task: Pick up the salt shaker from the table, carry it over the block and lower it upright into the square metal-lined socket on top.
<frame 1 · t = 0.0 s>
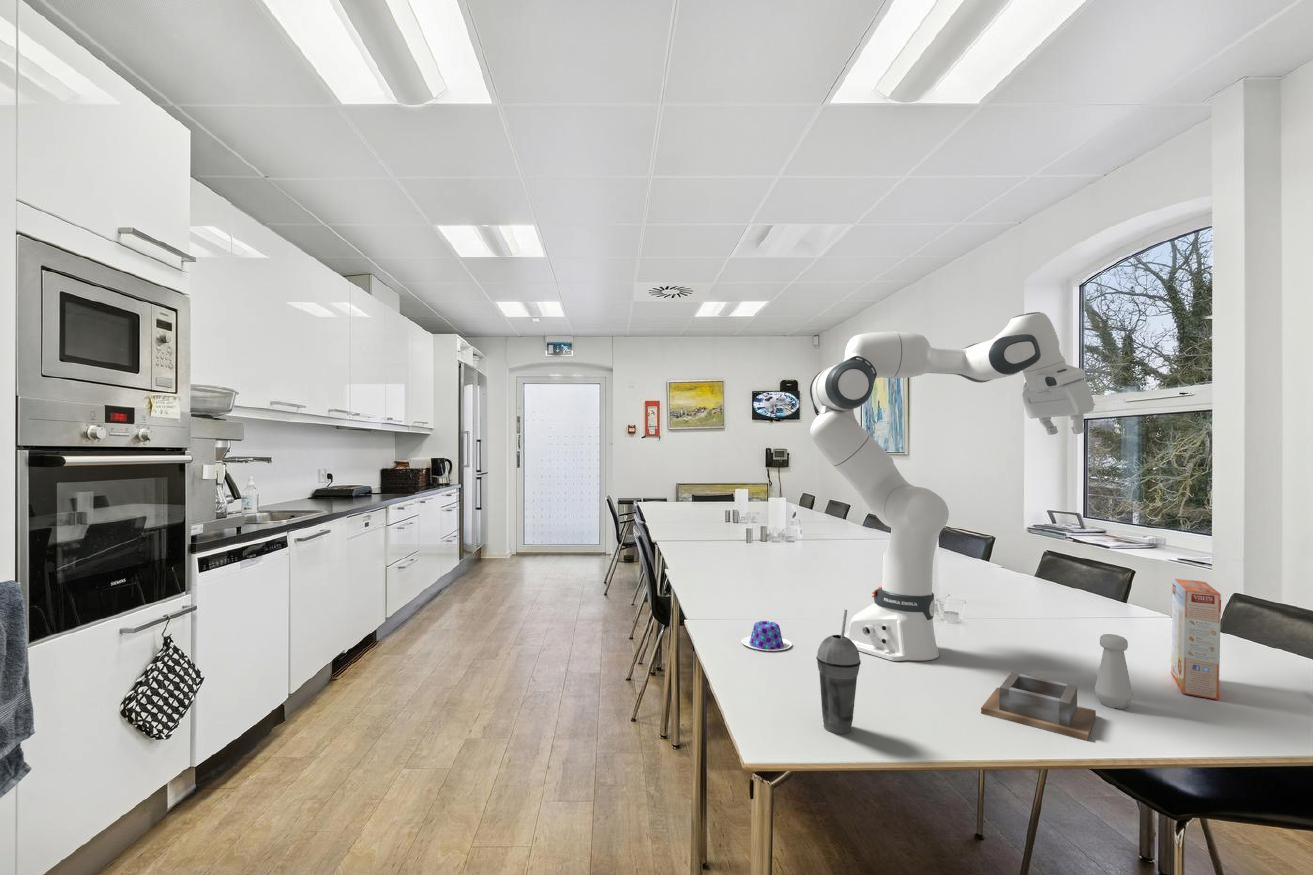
hand: (1065, 433, 150), 52 cm above the table, tool tilted 20°, fingers open, 8 cm apart
beverage cup: (837, 729, 107), on the table
cracker box: (1194, 688, 129), on the table
salt shaker: (1113, 705, 119), on the table
pudding: (766, 646, 152), on the table
socket block: (1038, 714, 114), on the table
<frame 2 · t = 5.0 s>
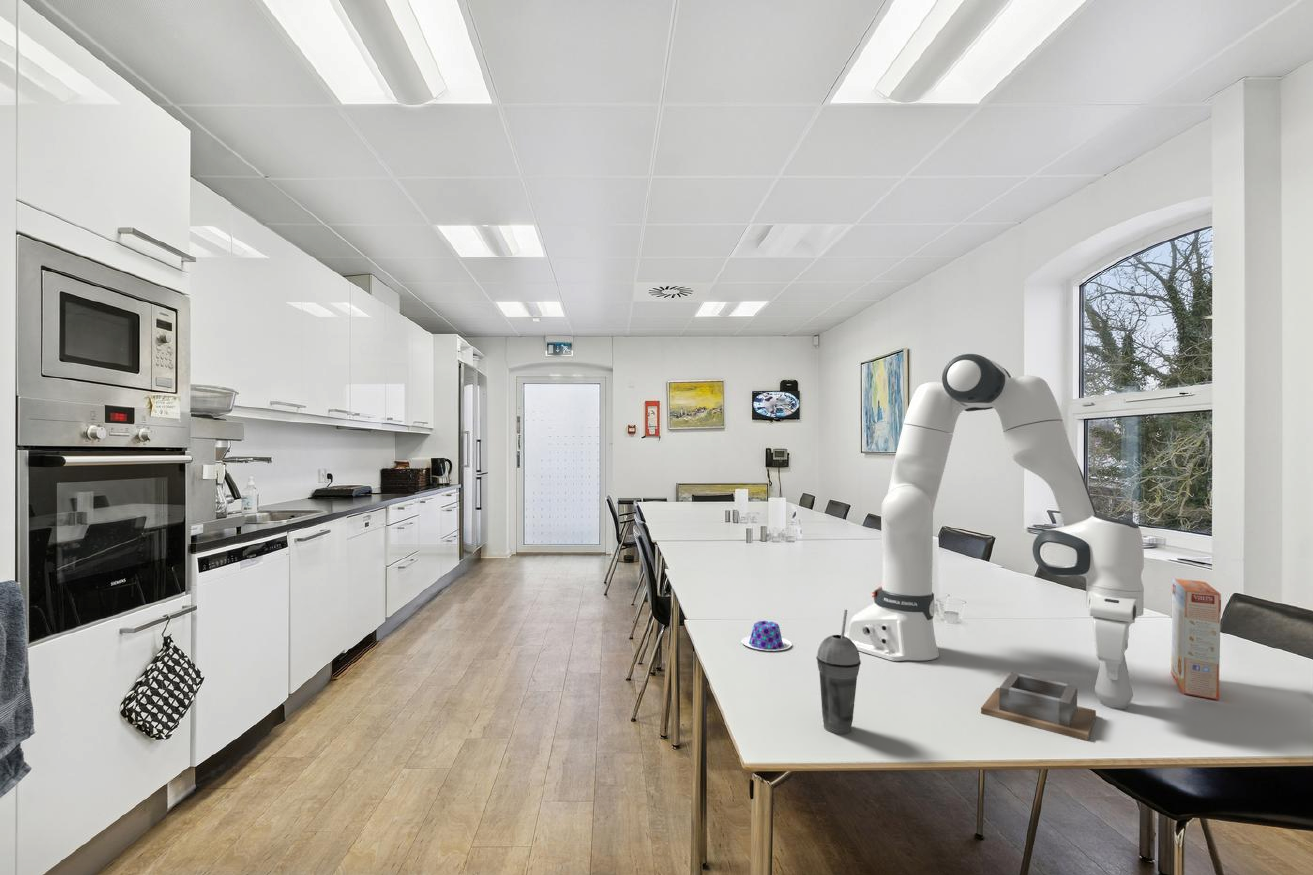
hand: (1113, 674, 119), 6 cm above the table, tool pointing down, fingers closed on salt shaker, 4 cm apart
salt shaker: (1113, 705, 119), on the table, touching gripper
everything else where it was.
when the fingers open (7 cm above the table, at t = 11.1 s): salt shaker stays where it is, resting on socket block.
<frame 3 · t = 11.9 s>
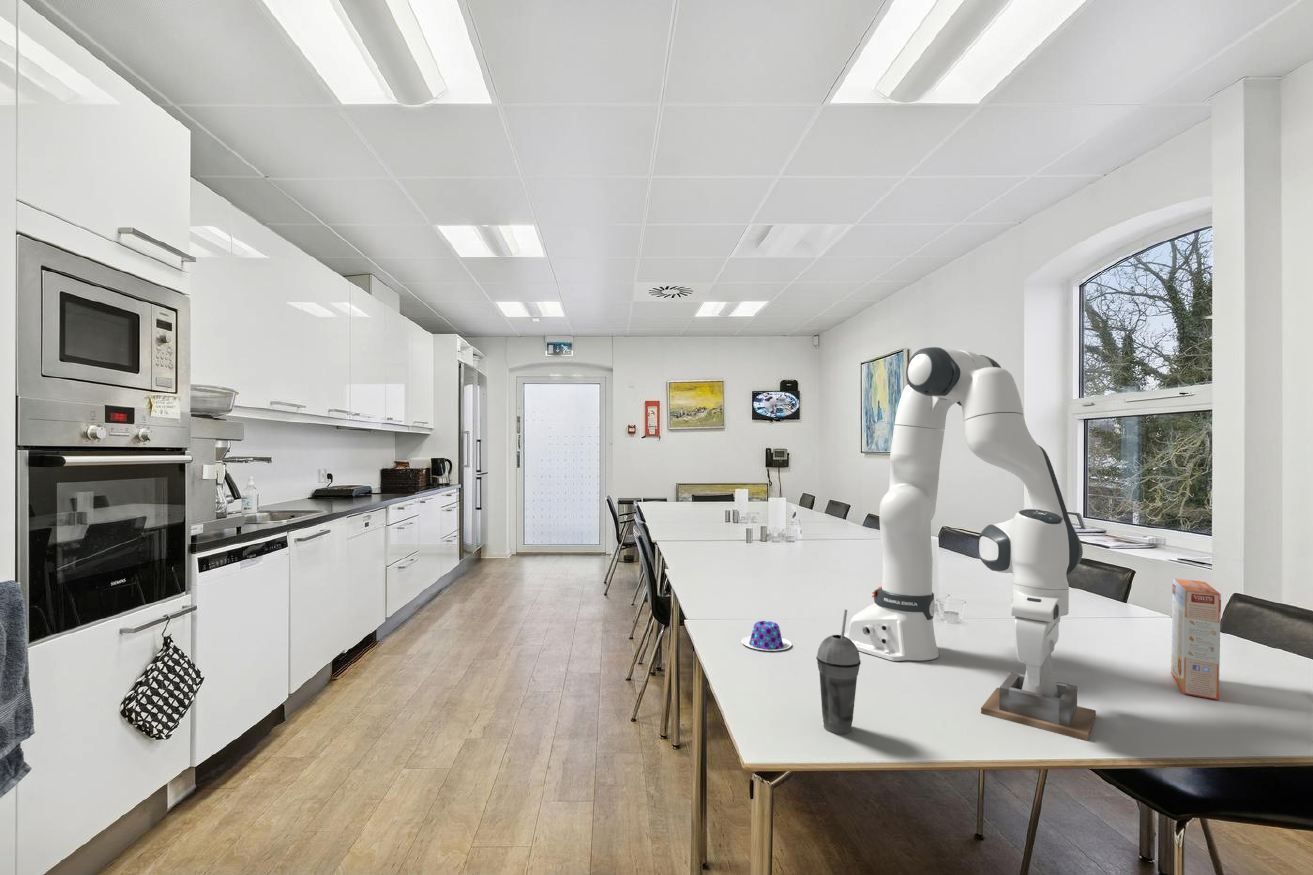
hand: (1038, 677, 114), 7 cm above the table, tool pointing down, fingers open, 8 cm apart
salt shaker: (1039, 709, 114), point 1 cm above the table, touching socket block
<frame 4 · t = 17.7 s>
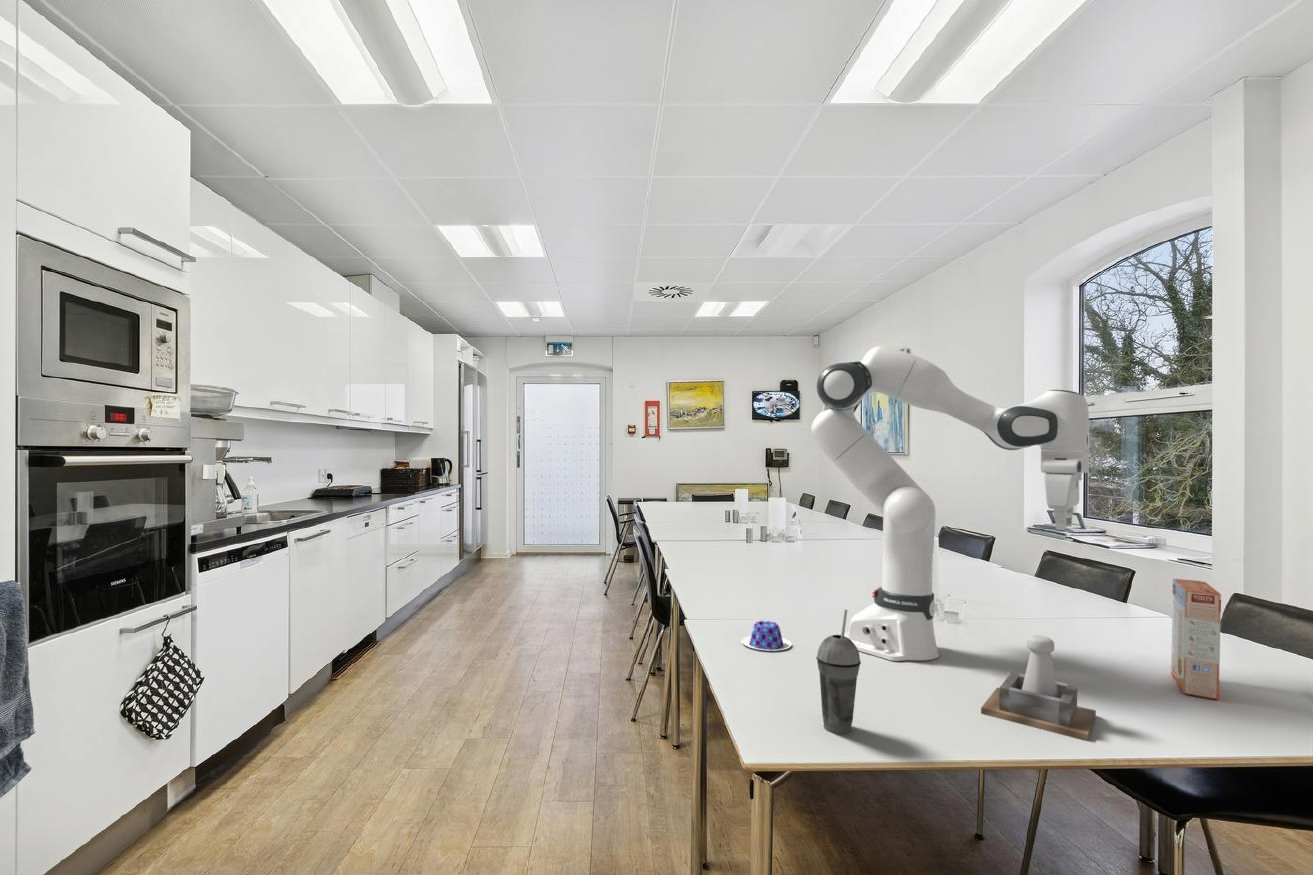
hand: (1063, 527, 138), 31 cm above the table, tool pointing down, fingers open, 8 cm apart
at the end: salt shaker 0.3 cm off-centre on the socket block, point 0.8 cm above the socket block's base; salt shaker tilted 0°; the gripper is holding nothing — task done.
